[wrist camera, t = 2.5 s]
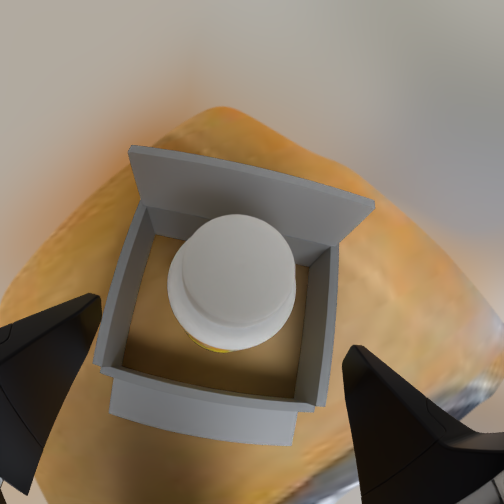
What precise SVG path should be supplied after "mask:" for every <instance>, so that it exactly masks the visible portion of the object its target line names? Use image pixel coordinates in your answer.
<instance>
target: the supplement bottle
mask: <svg viewBox="0 0 504 504" xmlns="http://www.w3.org/2000/svg"><path fill="white" fill-rule="evenodd" d="M167 290H168V297H169V302H170V305H171V308H172V311H173V313H174V315H175V317H176V318H177V320H178V322H179V323H180V324H181V326H182V327H183V329H184V330H185V332H186V333H187V335H188V336H189V337H190V338H191V339H192V340H193V341H194V342H195V343H196V344H198V345H199V346H201V347H202V348H204V349H206V350H209V351H212V352H218V353H226V352H233V351H237V350H242V349H247V348H251V347H254V346H257V345H259V344H261V343H263V342H265V341H266V340H268V339H269V338H271V337H272V336H274V335H275V334H276V333H277V332H278V331H279V330H280V329H281V328H282V327H283V325H284V324H285V322H286V321H287V319H288V317H289V316H290V314H291V311H292V309H293V306H294V301H295V295H296V281H295V262H294V257H293V254H292V252H291V249H290V247H289V245H288V243H287V242H286V240H285V239H284V237H283V236H282V235H281V234H280V233H279V232H278V231H277V230H276V229H275V228H274V227H272V226H271V225H269V224H268V223H266V222H265V221H263V220H260V219H258V218H255V217H251V216H248V215H240V214H231V215H224V216H221V217H217V218H215V219H212V220H210V221H209V222H207V223H205V224H204V225H202V226H201V227H200V228H199V229H198V230H197V231H196V232H195V233H194V234H193V235H192V237H190V238H189V239H188V240H187V241H186V242H185V243H184V244H183V245H182V246H181V247H180V249H179V250H178V251H177V253H176V255H175V256H174V258H173V261H172V263H171V266H170V269H169V273H168V281H167Z"/></svg>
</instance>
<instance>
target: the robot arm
mask: <svg viewBox="0 0 504 504" xmlns="http://www.w3.org/2000/svg"><path fill="white" fill-rule="evenodd" d="M101 319H102V308H101V298H100V296H99V295H96V294H93V293H87V294H85V295H82V296H80V297H77V298H74V299H72V300H69V301H67V302H64V303H62V304H59V305H56V306H54V307H51V308H49V309H46V310H44V311H41V312H39V313H36V314H33V315H31V316H28V317H26V318H23V319H21V320H18V321H16V322H14V323H13V324H12V323H11V324H8V325H6V326H4V327H1V328H0V488H1V486H2V483H3V481H6V482H7V483H9V484H10V485H11V486H13V487H14V488H16V489H17V490H19V491H20V492H22V493H23V494H25V495H28V493H29V490H30V487H31V484H32V481H33V478H34V475H35V472H36V469H37V466H38V463H39V460H40V457H41V455H42V452H43V448H44V446H45V444H46V441H47V439H48V436H49V434H50V432H51V429H52V427H53V424H54V422H55V420H56V418H57V415H58V413H59V411H60V409H61V406H62V404H63V402H64V400H65V398H66V396H67V394H68V391H69V389H70V387H71V385H72V383H73V381H74V379H75V377H76V375H77V373H78V371H79V369H80V368H81V366H82V364H83V362H84V360H85V358H86V356H87V354H88V351H89V349H90V346H91V344H92V341H93V339H94V337H95V334H96V332H97V329H98V327H99V325H100V322H101ZM342 372H343V382H344V393H345V402H346V407H347V412H348V418H349V423H350V428H351V434H352V439H353V445H354V451H355V457H356V463H357V470H358V477H359V484H360V491H361V496H362V497H361V500H362V504H504V432H499V433H479V432H476V431H473V430H472V429H470V428H469V427H467V426H466V425H464V424H463V423H461V422H460V421H458V420H457V419H455V418H454V417H452V416H451V415H449V414H448V413H447V412H445V411H444V410H442V409H441V408H440V407H439V406H437V405H436V404H435V403H433V402H432V401H431V400H430V399H428V398H427V397H426V396H425V395H423V394H422V393H421V392H420V391H418V390H417V389H416V388H415V387H413V386H412V385H411V384H410V383H408V382H407V381H406V380H405V379H404V378H402V377H401V376H400V375H399V374H397V373H396V372H395V371H394V370H392V369H391V368H390V367H389V366H387V365H386V364H385V363H384V362H383V361H381V360H380V359H379V358H378V357H376V356H375V355H374V354H373V353H371V352H370V351H369V350H368V349H366V348H365V347H364V346H362V345H352V346H351V347H350V349H349V351H348V353H347V354H346V356H345V358H344V360H343V362H342ZM0 504H6V501H5V499H4V497H3V494H2V492H1V489H0Z"/></svg>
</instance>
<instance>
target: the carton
mask: <svg viewBox="0 0 504 504" xmlns="http://www.w3.org/2000/svg"><path fill="white" fill-rule="evenodd" d="M128 155H129V159H130V163H131V167H132V170H133V174H134V177H135V181H136V184H137V188H138V191H139V194H140V198H141V200H140V202H139V204H138V207H137V210H136V212H135V215H134V217H133V220H132V223H131V225H130V228H129V231H128V234H127V236H126V239H125V242H124V245H123V248H122V251H121V254H120V257H119V260H118V263H117V266H116V269H115V273H114V276H113V279H112V283H111V286H110V290H109V293H108V297H107V301H106V305H105V308H104V312H103V316H102V321H101V325H100V329H99V334H98V338H97V343H96V348H95V353H94V358H93V363H92V364H95V365H98V366H101V370H100V373H102V374H104V375H107V376H110V377H113V378H114V380H113V386H112V392H111V399H110V407H109V413H110V414H112V415H115V416H118V417H121V418H124V419H128V420H131V421H134V422H137V423H141V424H144V425H148V426H152V427H156V428H159V429H164V430H168V431H172V432H177V433H181V434H186V435H191V436H196V437H202V438H208V439H214V440H221V441H229V442H238V443H247V444H260V445H277V446H292V441H293V435H294V430H295V424H296V419H297V413H298V412H314V409H315V406H320V407H325V406H326V399H327V392H328V385H329V378H330V370H331V362H332V353H333V343H334V333H335V321H336V307H337V291H338V268H339V243H340V242H341V241H342V240H343V239H344V238H345V237H346V236H347V235H348V234H349V233H350V232H351V231H352V230H353V229H354V228H355V227H357V226H358V225H359V224H360V223H361V222H362V221H363V220H364V219H365V218H366V217H367V216H368V215H369V214H370V213H371V212H372V211H373V210H374V209H375V201H374V200H372V199H369V198H366V197H363V196H360V195H357V194H353V193H350V192H347V191H344V190H341V189H337V188H334V187H331V186H327V185H324V184H321V183H317V182H314V181H310V180H306V179H303V178H299V177H295V176H291V175H288V174H284V173H280V172H276V171H272V170H268V169H263V168H259V167H255V166H251V165H246V164H242V163H237V162H232V161H227V160H223V159H218V158H212V157H207V156H202V155H196V154H191V153H185V152H179V151H173V150H166V149H160V148H153V147H145V146H137V145H131V147H130V149H129V150H128ZM231 214H240V215H248V216H251V217H255V218H258V219H260V220H263V221H265V222H266V223H268V224H269V225H271V226H272V227H274V228H275V229H276V230H277V231H278V232H279V233H280V234H281V235H282V236H283V237H284V239H285V240H286V242H287V243H288V245H289V247H290V249H291V252H292V254H293V257H294V262H295V264H298V265H303V266H307V267H309V276H308V288H307V298H306V308H305V318H304V327H303V335H302V344H301V352H300V359H299V367H298V374H297V381H296V387H295V394H294V399H293V398H280V397H270V396H261V395H252V394H245V393H237V392H231V391H225V390H219V389H213V388H207V387H202V386H197V385H192V384H187V383H183V382H178V381H174V380H170V379H166V378H162V377H158V376H154V375H150V374H146V373H143V372H139V371H136V370H132V369H129V368H126V367H123V366H122V362H123V357H124V352H125V347H126V342H127V337H128V333H129V328H130V324H131V319H132V315H133V311H134V307H135V303H136V299H137V295H138V291H139V288H140V284H141V280H142V277H143V273H144V270H145V266H146V263H147V259H148V256H149V253H150V249H151V246H152V243H153V240H154V237H155V234H157V235H161V236H166V237H171V238H175V239H180V240H185V241H187V240H188V239H189V238H190V237H192V235H193V234H194V233H195V232H196V231H197V230H198V229H199V228H200V227H201V226H202V225H204V224H205V223H207V222H209V221H210V220H212V219H215V218H217V217H221V216H224V215H231Z"/></svg>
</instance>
